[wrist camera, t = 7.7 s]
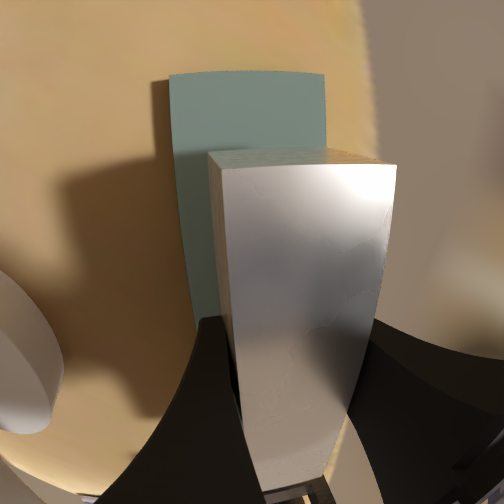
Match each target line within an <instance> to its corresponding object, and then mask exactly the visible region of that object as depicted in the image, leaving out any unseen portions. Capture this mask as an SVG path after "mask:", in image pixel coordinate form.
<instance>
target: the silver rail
mask: <svg viewBox="0 0 504 504" xmlns="http://www.w3.org/2000/svg"><path fill="white" fill-rule="evenodd" d="M207 156H208V172H209V186H210V199H211V212H212V224H213V235H214V247H215V257H216V268H217V278H218V287H219V297H220V306H221V315H222V318H223V322H224V325H225V329H226V337H227V345H228V353H229V362H230V370H231V378H232V385H233V393H234V399H235V403H236V407H237V411H238V414H239V418H240V421H241V425H242V429H243V432H244V436H245V439H246V443H247V446H248V449H249V452H250V456H251V459H252V462H253V465H254V468H255V472H256V475H257V477H258V480H259V483H260V486H261V489H262V491H267V490H272V489H276V488H281V487H285V486H289V485H293V484H297V483H301V482H304V481H308V480H311V479H315V478H318V477H321V476H322V475H323V472H324V470H325V468H326V465H327V463H328V461H329V458H330V456H331V453H332V451H333V448H334V446H335V443H336V441H337V438H338V436H339V433H340V430H341V428H342V425H343V422H344V419H345V417H346V414H347V411H348V408H349V405H350V402H351V399H352V396H353V393H354V390H355V387H356V383H357V380H358V377H359V373H360V370H361V367H362V363H363V360H364V356H365V352H366V348H367V345H368V341H369V337H370V333H371V329H372V325H373V320H374V316H375V312H376V307H377V302H378V298H379V293H380V288H381V282H382V277H383V272H384V266H385V260H386V254H387V248H388V240H389V234H390V226H391V218H392V209H393V199H394V189H395V177H396V165H393V164H390V163H387V162H383V161H380V160H376V159H372V158H368V157H364V156H361V155H357V154H353V153H348V152H344V151H340V150H336V149H331V148H327V147H281V148H255V149H237V150H223V151H210V152H207Z"/></svg>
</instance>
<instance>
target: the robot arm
mask: <svg viewBox="0 0 504 504" xmlns="http://www.w3.org/2000/svg"><path fill="white" fill-rule="evenodd" d="M347 415H348V416H349V418H350V420H351V422H352V423H353V425H354V427H355V429H356V431H357V433H358V436H359V438H360V440H361V442H362V445H363V447H364V450H365V452H366V454H367V457H368V459H369V462H370V465H371V467H372V470H373V472H374V475H375V478H376V481H377V484H378V487H379V489H380V493H381V496H382V499H383V503H384V504H481V503H483V502H484V501H485V500H486V499H487V498H488V497H489V498H488V504H504V360H497V359H491V358H484V357H479V356H473V355H469V354H464V353H461V352H457V351H452V350H449V349H446V348H443V347H439V346H437V345H434V344H431V343H428V342H425V341H422V340H420V339H417V338H415V337H413V336H411V335H408V334H406V333H404V332H402V331H399V330H397V329H395V328H393V327H391V326H389V325H387V324H385V323H383V322H381V321H379V320H377V319H375V318H374V320H373V325H372V329H371V333H370V337H369V341H368V345H367V348H366V352H365V356H364V360H363V363H362V367H361V370H360V373H359V377H358V380H357V383H356V387H355V390H354V393H353V396H352V399H351V402H350V405H349V408H348V411H347ZM80 499H81V500H82V501H83V502H84V503H86V504H267V503H266V501H265V498H264V495H263V492H262V489H261V486H260V483H259V480H258V477H257V475H256V472H255V468H254V465H253V462H252V459H251V456H250V452H249V449H248V446H247V443H246V439H245V436H244V432H243V429H242V425H241V421H240V418H239V414H238V411H237V407H236V403H235V399H234V393H233V385H232V378H231V370H230V362H229V353H228V345H227V337H226V329H225V325H224V322H223V318H222V315H218V316H211V317H203V318H201V319H200V320H199V326H198V332H197V337H196V341H195V344H194V348H193V351H192V354H191V357H190V360H189V363H188V365H187V368H186V370H185V373H184V375H183V377H182V380H181V382H180V385H179V387H178V389H177V391H176V393H175V395H174V397H173V399H172V401H171V403H170V405H169V407H168V409H167V410H166V412H165V414H164V416H163V417H162V419H161V421H160V422H159V424H158V425H157V427H156V429H155V430H154V432H153V433H152V435H151V436H150V438H149V439H148V441H147V442H146V444H145V445H144V446H143V448H142V449H141V450H140V452H139V453H138V454H137V455H136V457H135V458H134V459H133V460H132V462H131V463H130V464H129V466H128V467H127V468H126V469H125V471H124V472H123V473H122V474H121V475H120V476H119V477H118V478H117V479H116V481H115V482H114V483H113V484H112V485H111V486H110V487H109V488H108V489H107V490H106V491H105V492H104V493H103V494H102V495H101V496H100V497H90V496H81V497H80Z"/></svg>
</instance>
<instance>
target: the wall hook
mask: <svg viewBox="0 0 504 504" xmlns="http://www.w3.org/2000/svg"><path fill="white" fill-rule="evenodd" d="M63 376H64V362H63V356H62V352H61V349H60V346H59V343H58V341H57V339H56V336H55V334H54V332H53V330H52V328H51V327H50V325H49V323H48V322H47V320H46V318H45V317H44V315H43V314H42V312H41V311H40V310H39V308H38V307H37V306H36V304H35V303H34V302H33V300H32V299H31V298H30V297H29V296H28V295H27V294H26V293H25V291H24V290H23V289H22V288H21V287H20V286H19V285H18V284H17V283H16V282H14V281H13V280H12V279H11V278H10V277H9V276H8V275H6V274H5V273H4V272H2V271H1V270H0V429H2V430H5V431H9V432H13V433H18V434H33V433H37V432H40V431H42V430H43V429H44V428H46V426H47V425H48V423H49V421H50V419H51V416H52V412H53V409H54V406H55V402H56V399H57V396H58V393H59V390H60V387H61V384H62V381H63ZM0 504H46V503H45V502H44V501H42V500H41V499H40V498H39V497H38V496H37V495H36V494H35V493H34V492H33V491H32V490H30V488H29V487H28V486H26V485H25V484H24V483H23V482H22V481H21V479H20V478H19V477H18V476H17V475H16V474H15V473H13V471H12V470H11V469H10V468H9V467H8V466H7V465H6V464H5V463H4V461H3V460H2V459H1V458H0Z"/></svg>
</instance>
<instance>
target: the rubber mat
mask: <svg viewBox="0 0 504 504" xmlns="http://www.w3.org/2000/svg"><path fill="white" fill-rule="evenodd" d="M169 93H170V113H171V130H172V144H173V157H174V169H175V180H176V190H177V199H178V209H179V217H180V226H181V234H182V242H183V249H184V257H185V264H186V271H187V277H188V284H189V290H190V297H191V303H192V309H193V315H194V320H195V326H196V332H198V326H199V320H200V319H201V318H203V317H211V316H218V315H221V306H220V297H219V287H218V278H217V268H216V257H215V247H214V235H213V224H212V212H211V199H210V186H209V172H208V156H207V152H210V151H223V150H237V149H255V148H281V147H326V106H325V81H324V75H323V74H313V73H300V72H283V71H216V72H199V73H186V74H176V75H169Z"/></svg>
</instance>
